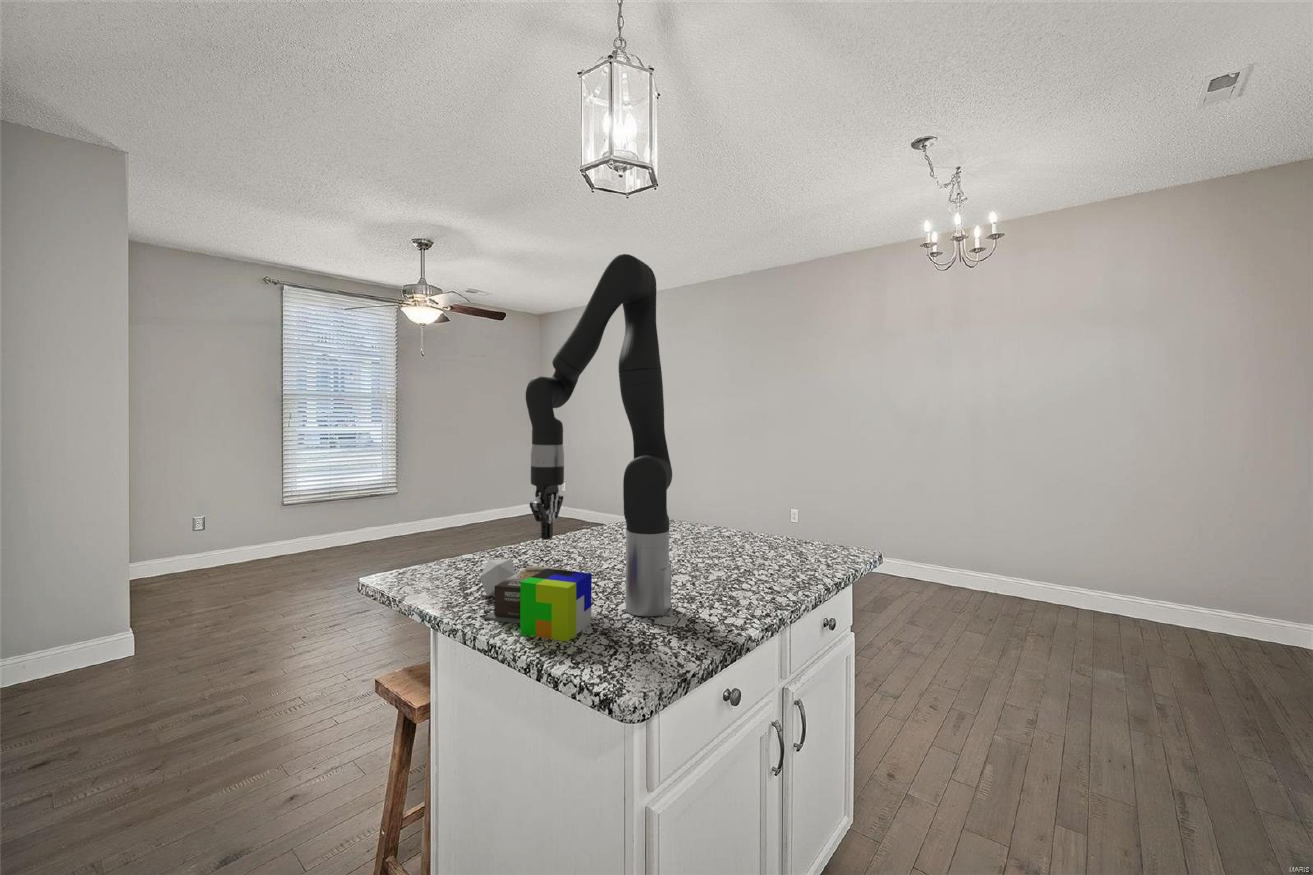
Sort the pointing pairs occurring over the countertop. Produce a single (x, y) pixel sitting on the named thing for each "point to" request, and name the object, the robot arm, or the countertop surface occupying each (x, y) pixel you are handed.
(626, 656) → the countertop surface
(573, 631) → the puzzle toy
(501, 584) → the coffee box
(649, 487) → the robot arm
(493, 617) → the mat
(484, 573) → the die
